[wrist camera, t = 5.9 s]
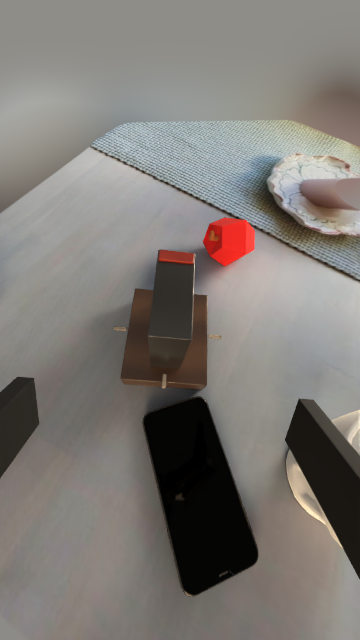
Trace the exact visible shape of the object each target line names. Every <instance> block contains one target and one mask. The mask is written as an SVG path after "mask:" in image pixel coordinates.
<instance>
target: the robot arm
mask: <svg viewBox="0 0 360 640" xmlns="http://www.w3.org/2000/svg"><path fill="white" fill-rule="evenodd" d="M38 425H39V417H38V408H37V400H36V391H35V383H34V378H25V377H17V378H16V379H14V380H13V381H12V382H11V383H10V384H9V385H8V386H7V387H6V388H5V389H3V390H2V391H1V392H0V478H1V476H2V475H3V474H4V472H5V471H6V469H7V468H8V467H9V465H10V464H11V462H12V461H13V460H14V458H15V457H16V455H17V454H18V453H19V451H20V450H21V448H22V447H23V446H24V444H25V443H26V441H27V440H28V439H29V437H30V436H31V434H32V433H33V432H34V430H35V429H36V427H37V426H38ZM285 441H286V443H287V445H288V447H289V449H290V450H291V452H292V454H293V456H294V458H295V460H296V462H297V463H298V465H299V467H300V469H301V471H302V473H303V475H304V476H305V478H306V480H307V482H308V484H309V486H310V488H311V489H312V491H313V493H314V495H315V497H316V499H317V501H318V503H319V504H320V506H321V508H322V510H323V512H324V514H325V516H326V517H327V519H328V521H329V523H330V525H331V527H332V529H333V530H334V532H335V534H336V536H337V538H338V540H339V542H340V543H341V545H342V547H343V549H344V551H345V553H346V555H347V557H348V558H349V560H350V562H351V564H352V566H353V568H354V570H355V571H356V573H357V575H358V577H359V579H360V455H359V454H358V452H357V451H356V450H355V449H354V448H353V447H352V445H351V444H350V443H349V442H348V441H347V439H346V438H345V437H344V436H343V435H342V433H341V432H340V431H339V430H338V429H337V427H336V426H335V425H334V424H333V423H332V422H331V420H330V419H329V418H328V417H327V416H326V414H325V413H324V412H323V411H322V410H321V408H320V407H319V406H318V405H317V404H316V402H315V401H314V400H309V399H299V400H298V403H297V406H296V409H295V412H294V415H293V418H292V421H291V424H290V427H289V430H288V432H287V435H286V438H285Z"/></svg>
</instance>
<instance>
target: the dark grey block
mask: <svg viewBox="0 0 360 640" xmlns="http://www.w3.org/2000/svg"><path fill="white" fill-rule="evenodd" d="M194 274H195V254H194V253H186V252H177V251H168V250H158V258H157V266H156V274H155V282H154V290H153V298H152V307H151V315H150V323H149V331H148V343H149V355H150V366H151V367H163V368H176V369H180V368H181V366H182V363H183V361H184V358H185V356H186V353H187V351H188V348H189V346H190V343H191V341H192V328H193V301H194Z"/></svg>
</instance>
